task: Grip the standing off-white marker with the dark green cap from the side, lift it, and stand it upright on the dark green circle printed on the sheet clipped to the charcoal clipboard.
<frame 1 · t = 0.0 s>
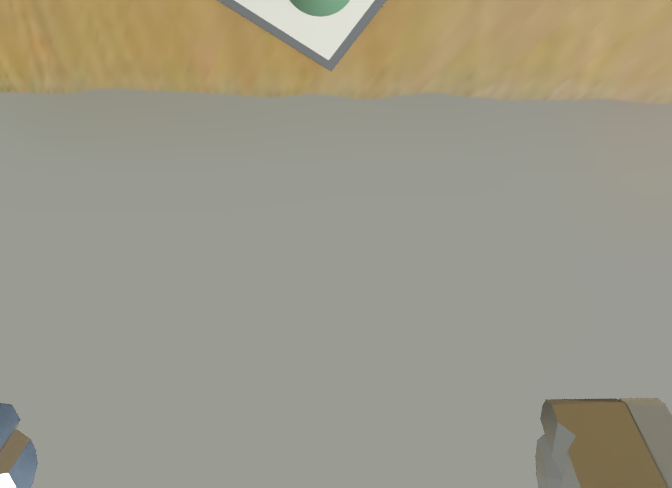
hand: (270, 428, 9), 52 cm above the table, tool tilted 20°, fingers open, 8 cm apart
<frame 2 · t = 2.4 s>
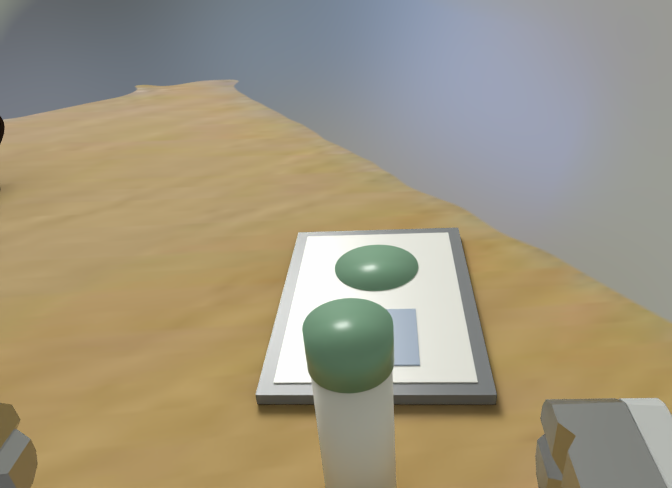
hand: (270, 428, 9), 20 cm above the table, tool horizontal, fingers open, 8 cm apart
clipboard: (376, 303, 44), on the table
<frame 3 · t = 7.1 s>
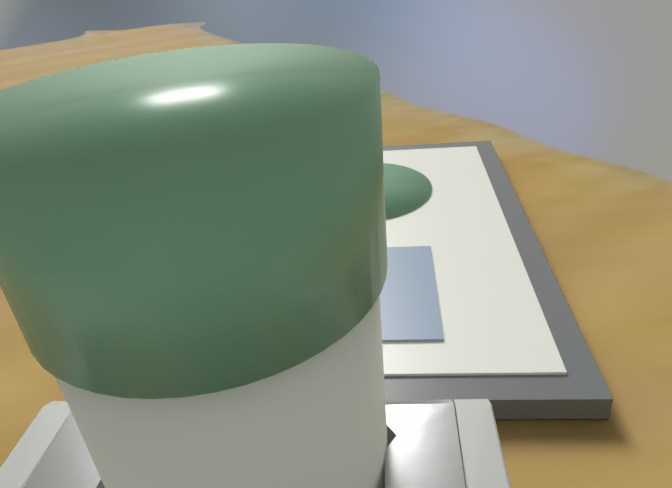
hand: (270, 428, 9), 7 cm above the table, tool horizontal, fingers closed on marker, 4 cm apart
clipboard: (361, 244, 26), on the table
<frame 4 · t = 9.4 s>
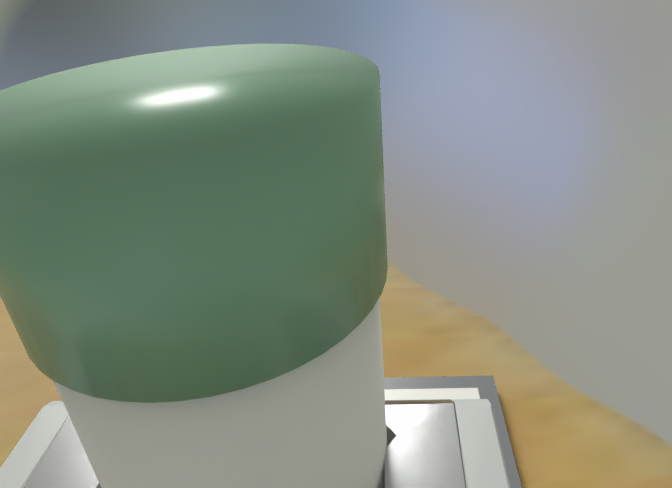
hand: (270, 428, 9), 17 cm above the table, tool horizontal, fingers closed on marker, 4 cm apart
when the fingers open (8 cm above the table, at t = 12.1 s): marker stays where it is, resting on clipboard.
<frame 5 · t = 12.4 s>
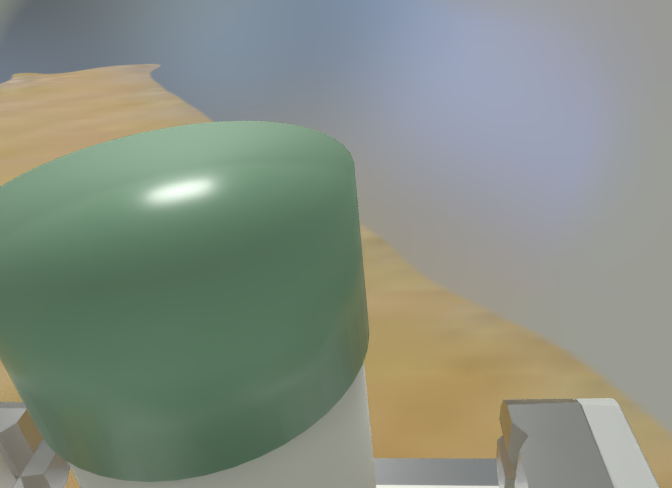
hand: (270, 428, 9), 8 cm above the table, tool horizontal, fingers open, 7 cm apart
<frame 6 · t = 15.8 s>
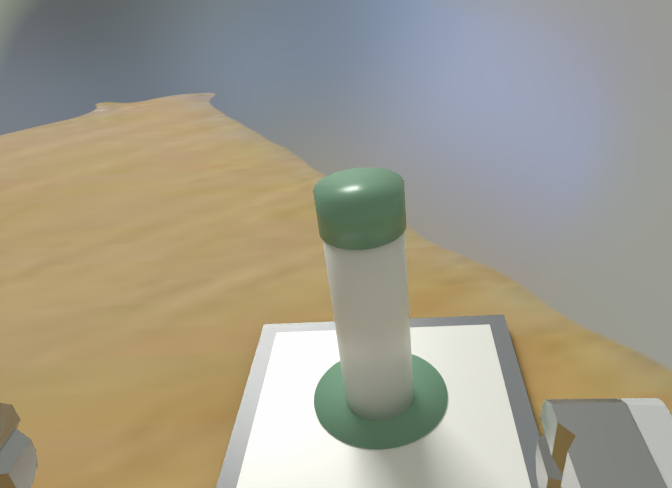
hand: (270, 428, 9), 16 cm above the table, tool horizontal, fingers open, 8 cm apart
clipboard: (380, 470, 27), on the table
marker: (379, 393, 30), point 1 cm above the table, touching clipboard
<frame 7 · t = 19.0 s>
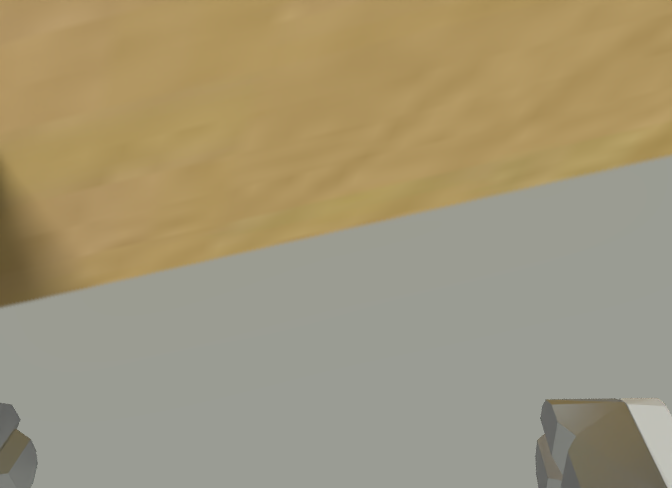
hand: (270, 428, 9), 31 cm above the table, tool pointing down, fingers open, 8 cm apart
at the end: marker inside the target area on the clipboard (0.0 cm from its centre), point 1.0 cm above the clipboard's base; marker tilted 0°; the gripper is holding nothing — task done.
